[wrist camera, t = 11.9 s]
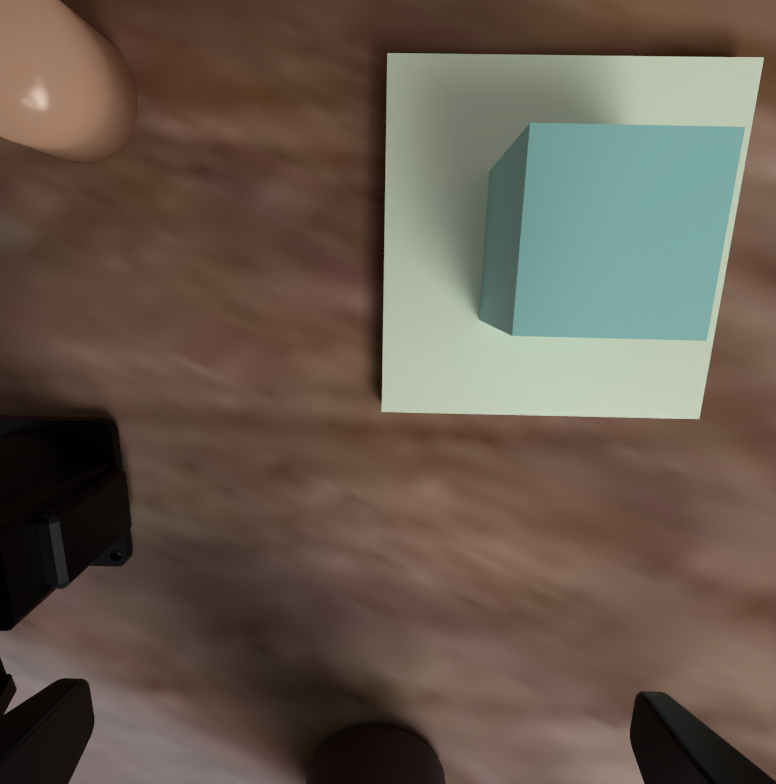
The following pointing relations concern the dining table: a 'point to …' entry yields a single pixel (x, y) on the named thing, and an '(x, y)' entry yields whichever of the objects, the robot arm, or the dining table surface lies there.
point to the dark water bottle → (375, 759)
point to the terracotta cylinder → (62, 83)
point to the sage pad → (468, 221)
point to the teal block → (608, 230)
